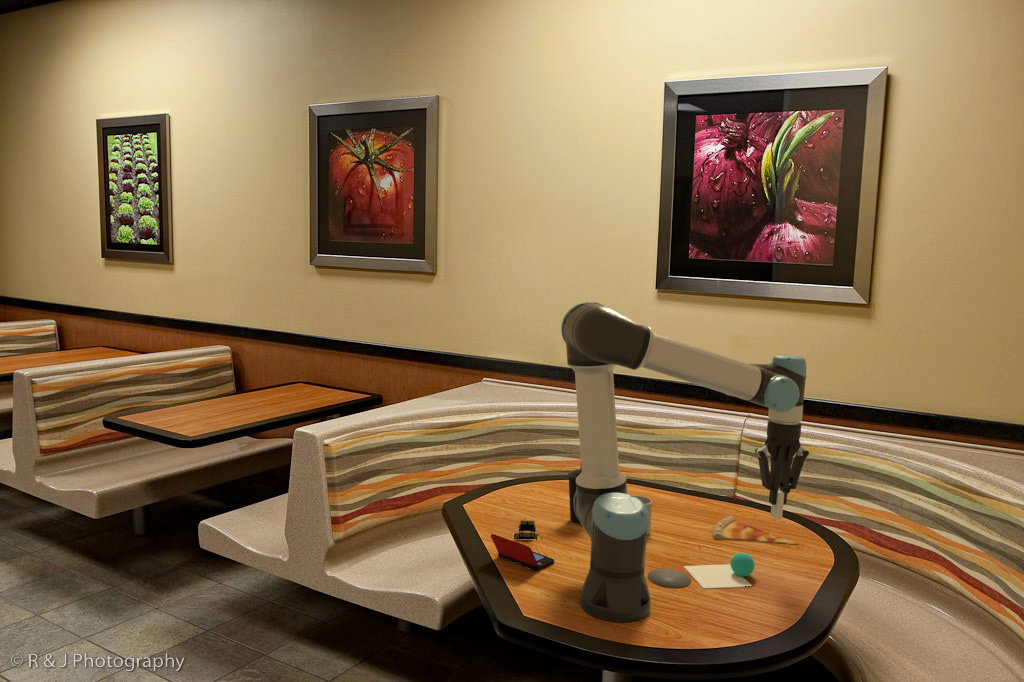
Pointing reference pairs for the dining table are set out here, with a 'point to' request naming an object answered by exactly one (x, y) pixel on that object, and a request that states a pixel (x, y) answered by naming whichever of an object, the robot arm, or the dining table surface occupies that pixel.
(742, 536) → the pizza slice
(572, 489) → the drinking cup
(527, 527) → the black boxy piece
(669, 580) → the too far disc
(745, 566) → the ball
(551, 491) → the dining table surface
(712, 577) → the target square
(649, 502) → the cup
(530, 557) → the handheld game console
